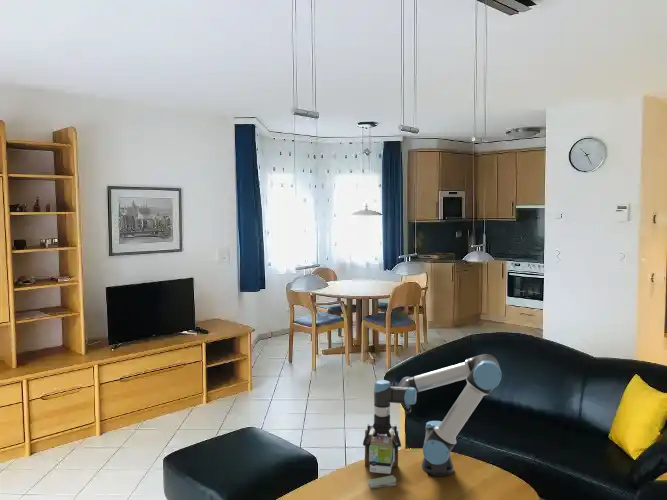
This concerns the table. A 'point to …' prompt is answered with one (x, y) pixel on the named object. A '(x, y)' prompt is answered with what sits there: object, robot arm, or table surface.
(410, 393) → the robot arm
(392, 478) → the sage painted offcut
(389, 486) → the pinkish brown bar
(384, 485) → the grey board offcut
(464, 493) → the table surface
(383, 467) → the tea box
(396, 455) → the rack
